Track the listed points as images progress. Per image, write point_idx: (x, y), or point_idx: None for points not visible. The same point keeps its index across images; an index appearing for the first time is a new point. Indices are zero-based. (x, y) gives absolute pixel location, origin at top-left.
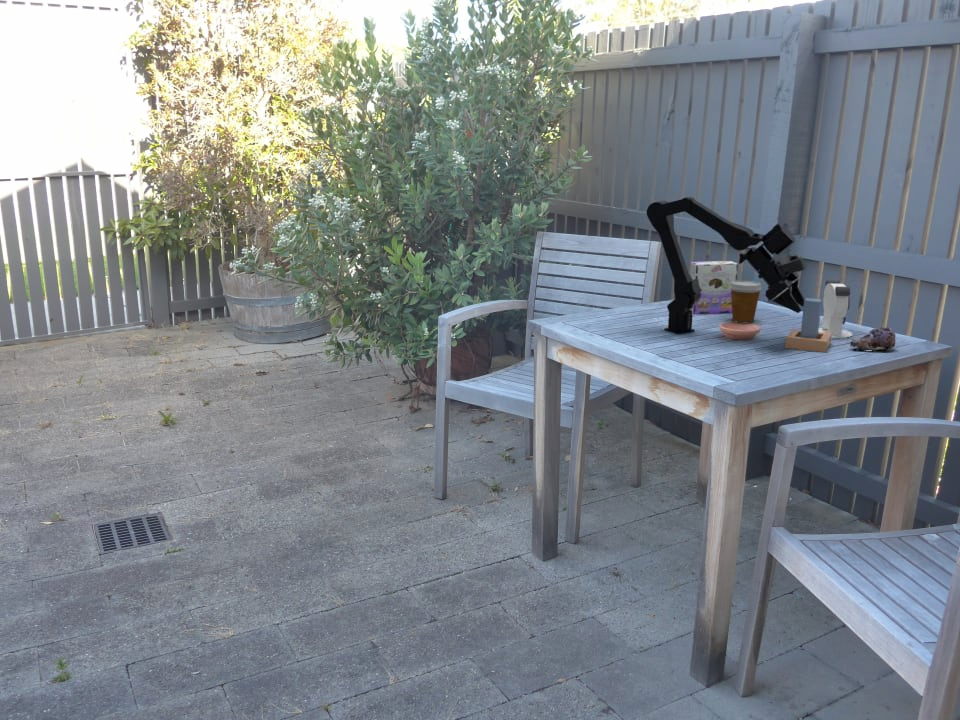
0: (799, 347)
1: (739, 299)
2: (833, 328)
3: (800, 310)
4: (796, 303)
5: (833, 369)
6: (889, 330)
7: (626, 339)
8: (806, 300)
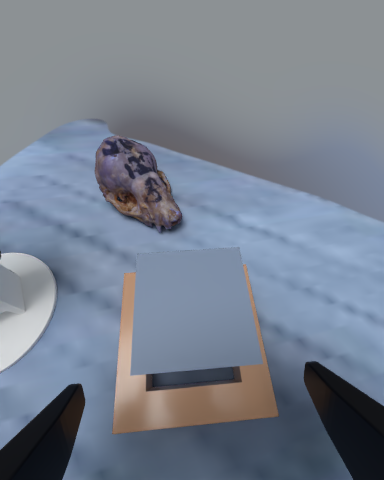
0: None
1: None
2: (11, 292)
3: (317, 365)
4: (381, 408)
5: (373, 232)
6: (125, 140)
7: None
8: (245, 344)
